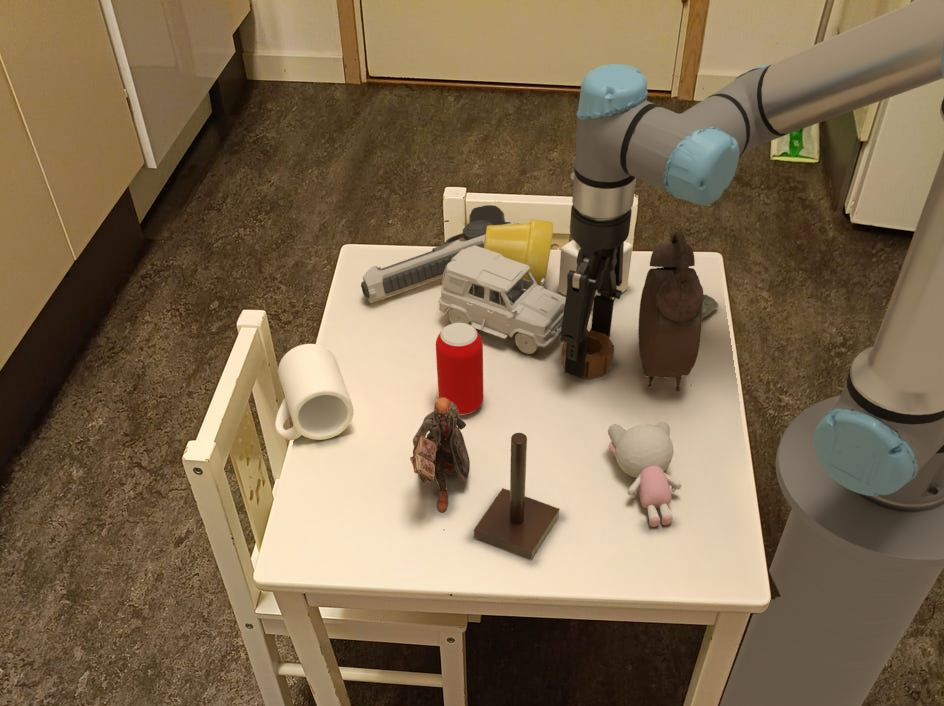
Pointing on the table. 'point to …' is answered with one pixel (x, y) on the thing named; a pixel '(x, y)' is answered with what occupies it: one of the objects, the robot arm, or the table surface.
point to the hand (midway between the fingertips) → (587, 355)
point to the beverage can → (460, 366)
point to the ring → (595, 354)
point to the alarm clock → (670, 312)
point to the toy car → (500, 298)
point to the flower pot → (523, 245)
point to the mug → (312, 394)
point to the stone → (708, 305)
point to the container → (570, 263)
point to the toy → (647, 465)
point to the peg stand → (517, 511)
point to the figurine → (441, 448)
